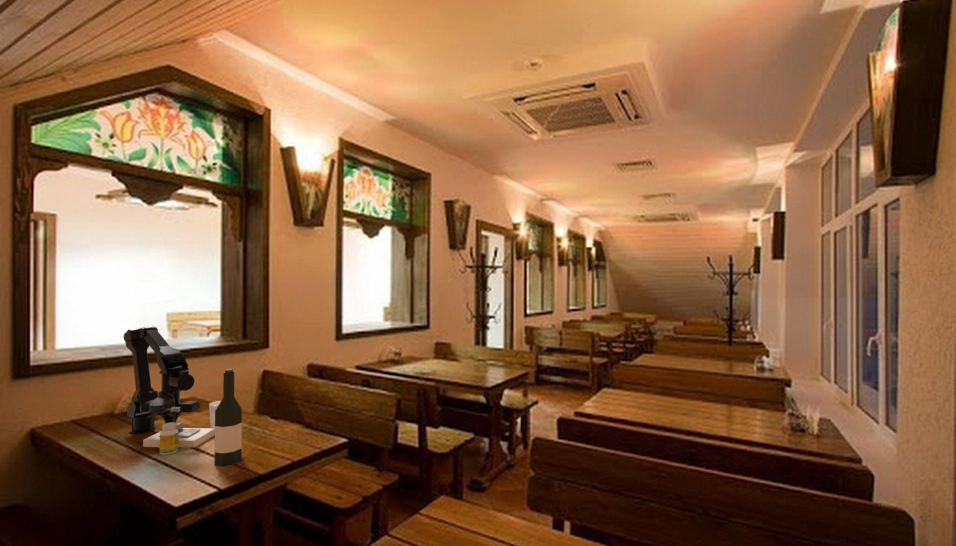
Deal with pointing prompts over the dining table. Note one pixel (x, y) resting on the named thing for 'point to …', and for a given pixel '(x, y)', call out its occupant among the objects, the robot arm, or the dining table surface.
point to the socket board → (183, 438)
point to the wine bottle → (228, 425)
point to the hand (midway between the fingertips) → (170, 429)
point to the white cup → (213, 412)
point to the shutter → (185, 430)
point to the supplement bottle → (168, 439)
